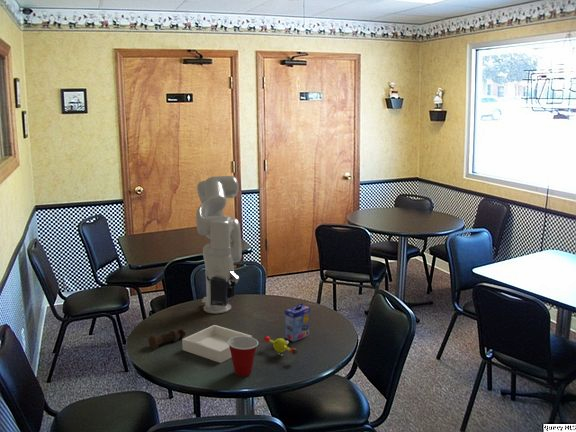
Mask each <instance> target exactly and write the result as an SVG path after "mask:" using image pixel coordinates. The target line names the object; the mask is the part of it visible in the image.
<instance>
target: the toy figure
mask: <svg viewBox="0 0 576 432" xmlns="http://www.w3.org/2000/svg"><path fill="white" fill-rule="evenodd" d="M263 341H264V342H265V343H269V342H270V343H271V344H273V345H272V346H273V349H274V350H275V351H276V352H277V356H280V357H284V355H285V354H284V353H283V352H285V351H290V354H291V355H294V356H295V355H297V353H298V350H297V348H296V347H292V348H290V347H288V344H289V343H290V342H289V341H290V340H286V338H282V337H279V338H276V339H275V340H273V339H271V337H270V336H269V335H265V336H264V337H263Z"/></svg>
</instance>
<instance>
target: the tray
mask: <svg viewBox="0 0 576 432" xmlns="http://www.w3.org/2000/svg"><path fill="white" fill-rule="evenodd" d="M237 336H247V337H252V338H253V335H251V334H248V333H244V332H241V331H239V330H234V329H230V328H227V327H223V326H220V325H216V324H213V325H211V326H209V327H207V328H203V329H202V330H200V331H197V332H196V333H193V334H190V335H188V336H185V337H183V338H182V339H181V340H182V341H181V342H182V351H185V352H188V353H191V354H194V355H196V356H199V357H202V358H205V359H209V360H211V361H213V362H216V363H219V364H222V363H224V362H225V361H227V360H231V359H232V356H231V351H230V347H229V344H228V340H229V339H230V338H232V337H237Z"/></svg>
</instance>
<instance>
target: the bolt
mask: <svg viewBox="0 0 576 432" xmlns="http://www.w3.org/2000/svg"><path fill="white" fill-rule="evenodd" d="M186 333H187V332H186V331H185V330H184V329H183V328H181V329H171V330H170V331H169V333H164V334H162V335H155V334H151V335H150V336H149V337H148V344H149V347H150V348H151V349H154V350H156V349H158V348H159V346H160V345H162V344H165V343H169V342H174V343H176V342H178V341H180V339H181V338H182V339H183V338H185V337H186Z"/></svg>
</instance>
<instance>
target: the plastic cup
mask: <svg viewBox="0 0 576 432" xmlns="http://www.w3.org/2000/svg"><path fill="white" fill-rule="evenodd" d="M228 344H229V347H230V351H231V356H232V358H231V361H232V365H233V370H234V373H235V375H236V376H238V377H247V376H250V375H251V374H252V371H253V367H254V360H255V354H256V350H257V347H258V345H259V341H258V339H256V338H254V337H253V336H252V337H247V336H237V337H232V338H230V339H229V340H228Z"/></svg>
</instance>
